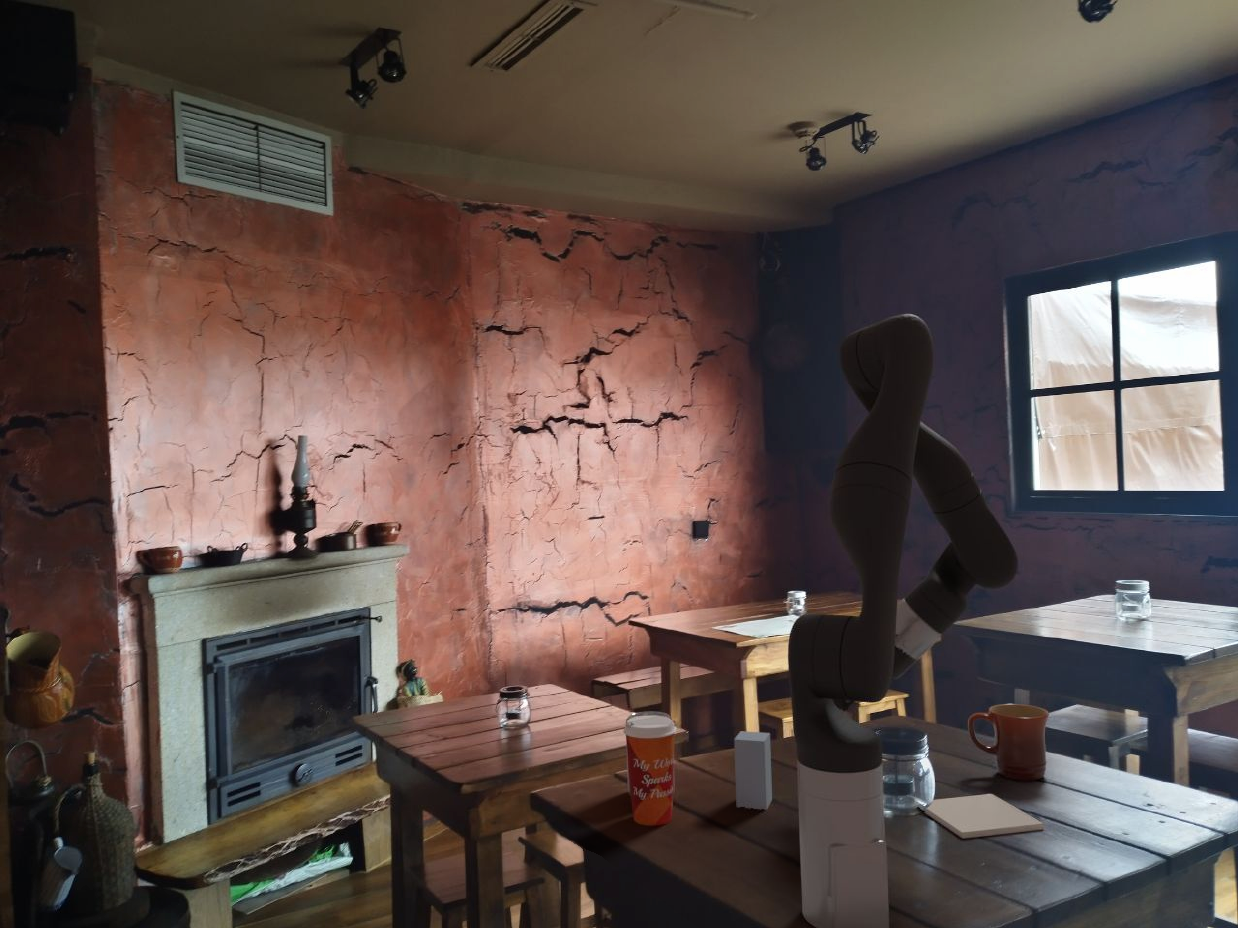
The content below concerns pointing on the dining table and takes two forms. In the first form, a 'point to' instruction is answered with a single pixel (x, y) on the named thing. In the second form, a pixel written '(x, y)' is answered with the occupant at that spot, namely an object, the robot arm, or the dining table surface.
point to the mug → (1015, 740)
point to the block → (753, 770)
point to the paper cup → (651, 768)
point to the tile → (981, 816)
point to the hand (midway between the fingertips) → (820, 714)
